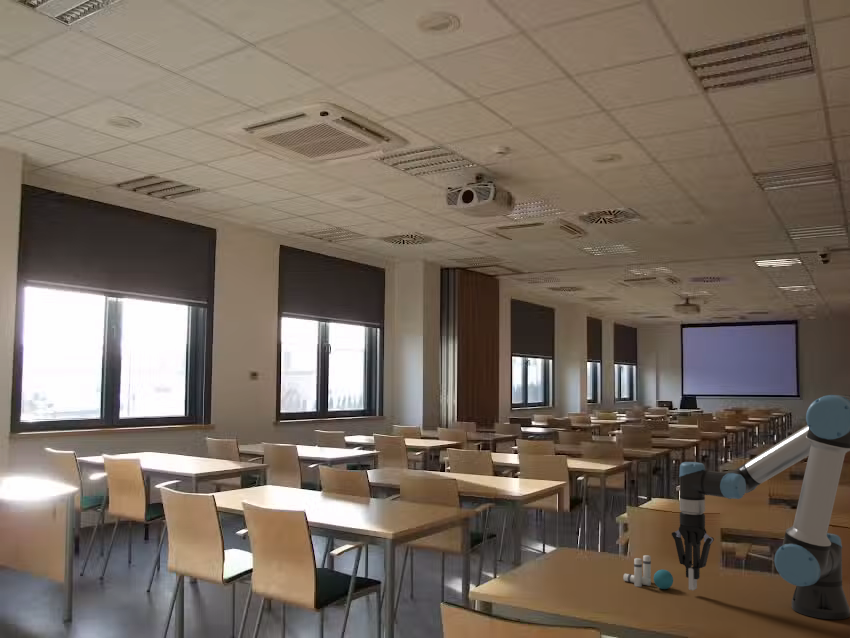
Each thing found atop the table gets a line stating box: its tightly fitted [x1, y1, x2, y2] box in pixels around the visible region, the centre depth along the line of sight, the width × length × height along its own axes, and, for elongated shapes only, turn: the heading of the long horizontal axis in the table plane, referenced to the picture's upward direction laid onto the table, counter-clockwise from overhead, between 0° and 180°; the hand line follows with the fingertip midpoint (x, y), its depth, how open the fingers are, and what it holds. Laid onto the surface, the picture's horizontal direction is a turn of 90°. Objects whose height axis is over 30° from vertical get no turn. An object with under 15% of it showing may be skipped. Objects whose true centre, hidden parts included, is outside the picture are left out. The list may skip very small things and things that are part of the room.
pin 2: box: [642, 554, 652, 580], centre depth 251 cm, size 2×2×8 cm
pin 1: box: [633, 557, 643, 588], centre depth 246 cm, size 2×2×8 cm
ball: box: [653, 569, 674, 590], centre depth 243 cm, size 6×6×6 cm
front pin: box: [622, 572, 652, 587], centre depth 249 cm, size 2×2×8 cm
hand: (692, 588), depth 237 cm, fingers closed
